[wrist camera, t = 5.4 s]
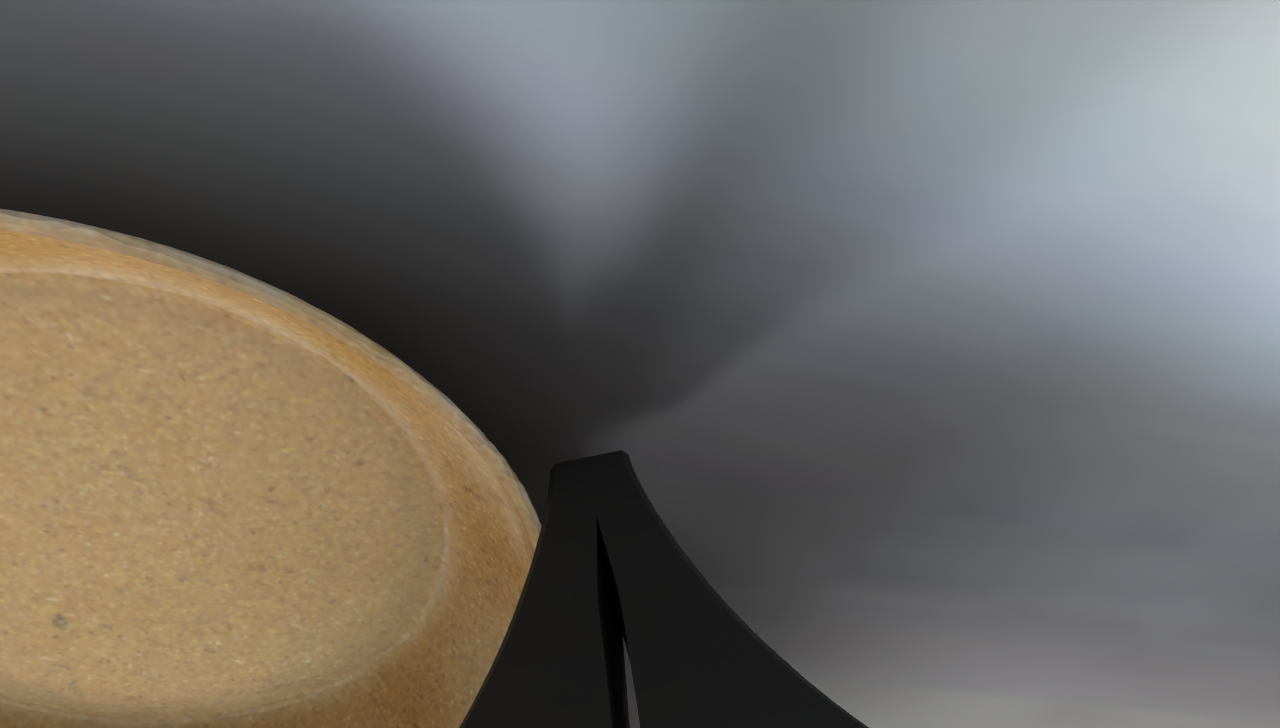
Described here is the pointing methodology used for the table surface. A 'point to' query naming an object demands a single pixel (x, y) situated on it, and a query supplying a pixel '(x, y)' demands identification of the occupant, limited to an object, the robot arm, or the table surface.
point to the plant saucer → (232, 504)
